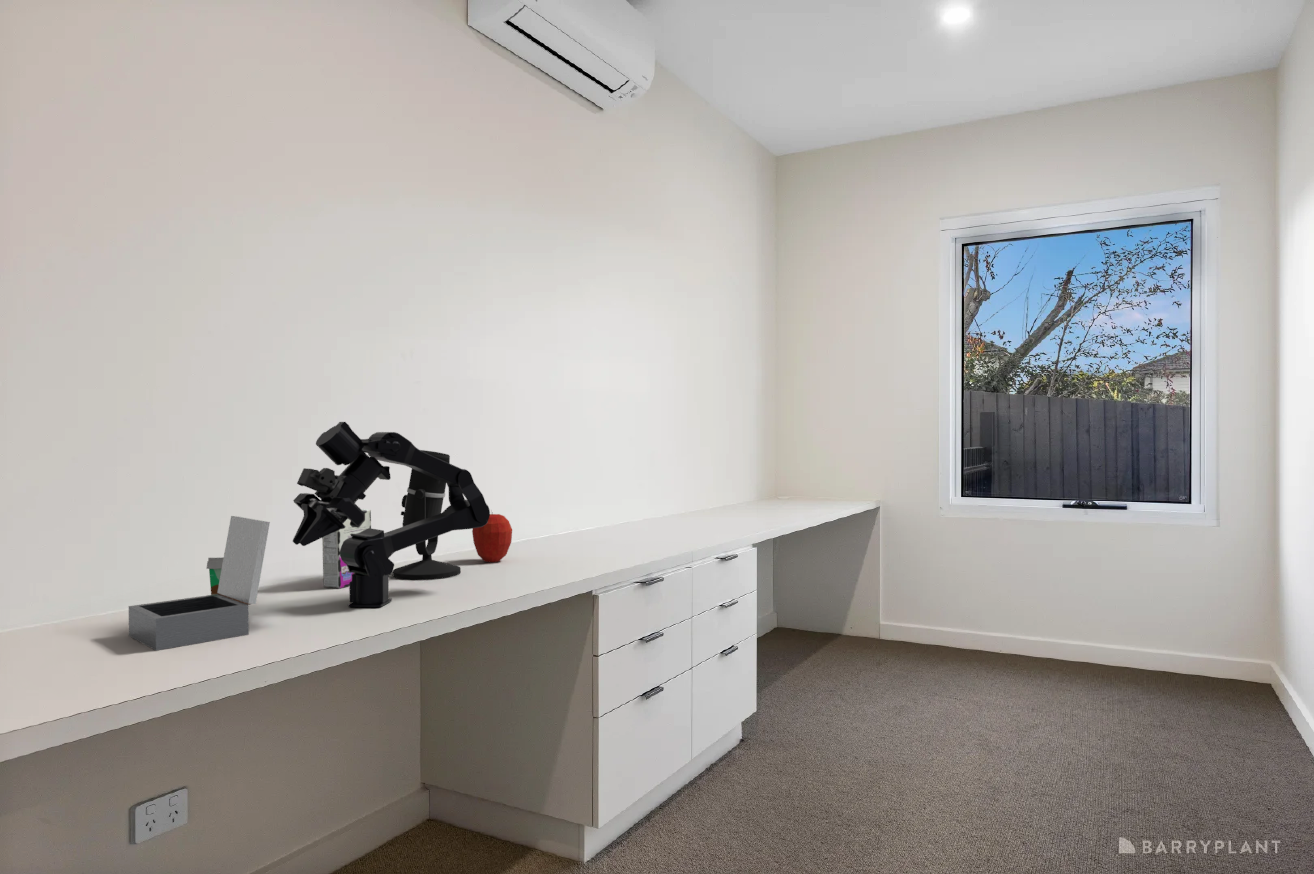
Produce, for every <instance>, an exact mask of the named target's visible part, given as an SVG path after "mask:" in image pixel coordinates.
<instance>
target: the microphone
mask: <svg viewBox="0 0 1314 874" xmlns="http://www.w3.org/2000/svg"><path fill="white" fill-rule="evenodd" d="M420 450H421V451H423V452H425V453H427V454H430V455H432V456H434V457H436V458H438V459H441V460H443V461H445V462H447V463H450V459H451V456H450V454H447V453H443V452H439V451H433V450H432V451H431V450H425V449H420ZM450 464H451V463H450ZM446 487H447V483H445V482H443V481H440V480H438V479H436V478H433V477H431V476H428V475H426V474H424V473H421V472H419V471H417V470H414V469H412V468H411V471H410V476H409V483H408V487H407V489H406V492H407V494H404V496H402V499H401V506H402V508H404V511H403V510H402V511H401V512H400V516H402V519H403V520H402V523H401V524H402V527H404V526H406V525H409V524H412V523H415V522H418V521H421V520H424V519H427V518H429V517H432V516H435V515H438V514H441V513H442V509H443V503H444V498H445V497H446ZM438 540H439V536H436V537H434V538H431V539H428V540H426V541H427V544H426V541H423V542H420V543H417V544H415V550H416V552H417V554H418V556H422V557H421V558H422V559H421V560H419V561H418V560H417V561H415V562H412V563H409V564H405V565H402V566H400V567H396V568H395V569H394V568H393V571H392V577H393V578H394V579H399V580H408V581H428V580H429V581H430V580H441V579H447V578H453V577H457V576H458V575H460V574H461V569H462V568H461V566H458V565H457V564H456V565H455V564H451V563H449V562H447V563H446V562H443V561H438V560H434V559H432V555H433V554H434V553H435V552H436V550H437V547H438V542H439V541H438Z"/></svg>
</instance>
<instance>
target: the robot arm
mask: <svg viewBox="0 0 1314 874" xmlns="http://www.w3.org/2000/svg"><path fill="white" fill-rule="evenodd" d="M315 445H316V446H317V448H318V449H320V450H321V452H323V453H324V455H326V456H327V457H328V458H329V459H330V460H331V462H333V463H334V464H335V466H341V465H343V466H347V467H345V469H344V470H343V471H342V472H341V473H340V474H339V475H337V474H336V475H335V473H336V472H335V470H334V469H331V468H329V467H323V468H322V469H320V470H319V469H314V468H303V469H302V472H301V473H300V476H299V477H298V480H297V482H296V485H299V486H301V487H306V488H307V489H308V488H309V489H310V490H313V491H315V492H314V493H309V492H308V493H307V492H303V493H298V495H296V497H295V498H294V499H293V500H292V501H293V503H294V504H295V505H296V506H298V507H299V509H301V511H303V516H302V519H301V522H300V525H299V526H298V529H297V531H296V533H295V535H294V536H293V539H292V543H293V544H294V545H299V544H300V545H301V546H302V547H306V546H307V545H310V544H311V543H313V542H315V541H318V540H320V539H322V537H324V536H327V535H329V534H331V533H333V532H336V531H338V530H340V529H344V528H345V525H344V524H343V523H344V522H345V521H346V520H347V519H349V520H351V522H350V525H351V526H352V527H357V528H359V527H360V526H361V524H362V523H363V522H364V521H365V513H364V512H363V511H362V510H361V507H359V505H357V504H356V503H357V501H358V500H364V499H365V498H366V497H367V495H366V491H367V490H368V489H369V488H370V486H372V484H373V483H374V482H375V481H376V480H377V478H378V479H379V480H382V481H383V480H386V481H388V480H389V481H390V480H391V473H390V469H391V467H390V466H389V465H388V466H387V465H383V464H382V463H381V462H384V463H391V464H395V465H401V466H405V467H408V468H410V469H411V470H412V469H414V470H417V471H419V472H421V473H424V474H426V475H428V476H431V477H433V478H436V479H438V480H440V481H443V482H445V483H446V486H447V489H448V502H449V506H447V507H446V508H445V509H444V510H443V511H441V514H438V515H435V516H432V517H429V518H427V519H424V520H421V521H418V522H415V523H412V524H409V525H406V526H404V527H403V526H400V527H399V528H396V529H392V530H390V531H386V532H385V531H384V530H382V529H376V528H372V527H371V528H368V529H366V530H364V531H362V532H360V533H357V534H350V535H351V536H352V537H350V538H348V539H346V540H345V541H344V542H343V544H342V546H341V549H340V557H341V559H342V561H343V562H344V563H345V564H347V567H348V570H349V572H351V573H352V572H353V573H354V574H352V581H351V582H350V583H349V586H348V587H349V591H348V592H349V594H348V595H349V604H347V605H348V608H382V607H383V606H385V605H387V604H389V603H391V602H392V600H393V599H392V598H389V592H390V591H389V589H390V588H389V581H390V580H389V575H393V570H394V567H395V563H394V562H393V561H392V560H391V559H390V557H391V556H392V555H393V554H394V553H396V552H398V551H400V550H404V549H406V548H410V547H412V546H414V545H415V546H416V544H417V543H420V542H423V541H428V539H431V538H434V537H436V536H438V537H439V536H441V535H444V534H447V533H450V532H452V531H460V530H463V531H464V530H473V528H479V527H483V526H484V525H486V524H487V523H488V520H489V516H490V514H491V509H490V508H489V505H488V504H487V503H486V500H485V496H484V495H483V493H482V492H481V490H480V489H479V488H478V486H477V485H476V483H475V481H474V479H473V476H472V474H471V472H470V471H468V469H465V468H461V467H458V466H456V465H454V464H452V463H447V462H445V461H443V460H441V459H438V458H436V457H434V456H432V455H430V454H427V453H425V452H423V451H421V450H422V449H419V448H418V447H416V446H415V445H414V443H412V442H411V441H410V440H409V439H408V438H406V437H404V436H403V435H402V434H400V433H399V432H396V431H390V432H389V431H385V432H384V431H377V432H374V433H372V434H371V435H370V436H369V437H368V438H364V439H363V438H360V437H359V436H358V435H357V434H356V432H354V430H352V428H351V427H350V425H349V424H348V423H347V422H346V421H339V422H338V423H337V424H336V425H334V426H332V427H331V428H329V429H327V430H325V431H324V432H323V433H321V434H320V435H319V437H318V438H317V439H316V441H315ZM380 461H381V462H380Z"/></svg>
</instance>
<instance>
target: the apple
mask: <svg viewBox="0 0 1314 874" xmlns="http://www.w3.org/2000/svg"><path fill="white" fill-rule="evenodd" d="M471 533H472V539H473V545H474V547H475V550H476V553H477V555H478V557H480V559H481V560H483V561H484V562H486V563H492V564H493V563H498V562H500V561H502V559H503V558H504V557H506V556H507V554H508V552H509V549H510V546H511V544H512V538H513V537H512V536H513V528H512V526H511V523H510V520H508V518H507V517H506V516H505V515H503V514H500V513H490V516H489V520H488V523H487V524H486V525H484V526H483V527H479V528H473V529H471Z"/></svg>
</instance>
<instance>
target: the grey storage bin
mask: <svg viewBox="0 0 1314 874" xmlns="http://www.w3.org/2000/svg"><path fill="white" fill-rule="evenodd" d="M249 626H250V624H249V605H247V604H244V603H241V602H238V601H236V600H233V599H230V598H227V597H224V596H221V595H219V594H214V595H211V594H209V595H208V594H207V595H202V596H193V597H186V598H179V599H178V598H177V599H173V600H172V599H170V600H163V601H157V602H151V603H143V604H133V605H128V637H130V638H132V639H134V640H136V641H137V642H140V643H141V644H143V645H145V646H147V647H148V648H151V649H152V650H154V651H156V652H157V651H162V650H167V649H174V648H179V647H184V646H191V645H196V644H202V643H207V642H212V641H219V640H225V639H230V638H236V637H242V636H247V635H249V629H250V627H249Z"/></svg>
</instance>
